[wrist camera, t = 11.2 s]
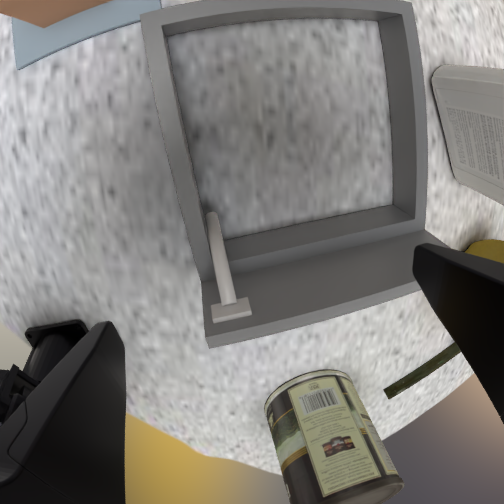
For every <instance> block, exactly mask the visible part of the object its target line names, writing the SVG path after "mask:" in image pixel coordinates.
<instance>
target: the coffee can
mask: <svg viewBox="0 0 504 504" xmlns="http://www.w3.org/2000/svg"><path fill="white" fill-rule="evenodd" d="M265 415H266V417H267V420H268V424H269V427H270V431H271V434H272V438H273V441H274V445H275V449H276V453H277V456H278V460H279V464H280V467H281V471H282V475H283V478H284V482H285V486H286V490H287V493H288V497H289V500H290V504H382V503H383V502H385V501H386V500H388V499H390V498H391V497H393V496H394V495H396V494H397V493H398V492H399V491H400V490H401V489H402V488H403V487H404V482H403V480H402V479H401V478H400V477H399V475H398V473H397V471H396V469H395V467H394V465H393V463H392V461H391V459H390V457H389V455H388V453H387V451H386V449H385V448H384V445H383V443H382V441H381V439H380V437H379V435H378V433H377V431H376V429H375V427H374V425H373V423H372V421H371V419H370V417H369V415H368V413H367V411H366V409H365V407H364V405H363V403H362V402H361V400H360V398H359V396H358V394H357V392H356V390H355V388H354V386H353V383H352V380H351V379H350V377H349V376H348V375H346V374H344V373H342V372H340V371H334V370H322V371H317V372H311V373H308V374H305V375H302V376H299V377H297V378H294V379H293V380H291V381H289V382H287V383H285V384H284V385H282V386H281V387H279V388H278V389H277V390H276V391H275V392H273V394H272V395H271V396H270V397H269V398H268V400H267V402H266V404H265Z"/></svg>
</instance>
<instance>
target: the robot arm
mask: <svg viewBox="0 0 504 504" xmlns="http://www.w3.org/2000/svg"><path fill="white" fill-rule="evenodd" d="M412 272H413V275H414V278H415V279H416V281H417V283H418V284H419V286H420V288H421V289H422V291H423V293H424V294H425V296H426V298H427V300H428V301H429V303H430V305H431V307H432V308H433V310H434V312H435V313H436V315H437V316H438V318H439V319H440V321H441V322H442V324H443V325H444V327H445V328H446V329H447V331H448V332H449V334H450V335H451V337H452V338H453V340H454V341H455V343H456V344H457V346H458V347H459V349H460V350H461V352H462V354H463V355H464V357H465V358H466V360H467V361H468V363H469V365H470V366H471V368H472V369H473V371H474V373H475V374H476V375H477V377H478V379H479V381H480V383H481V384H482V386H483V388H484V389H485V391H486V392H487V394H488V396H489V398H490V400H491V401H492V403H493V405H494V407H495V409H496V410H497V412H498V414H499V416H501V417H500V418H501V420H502V422H503V424H504V263H500V262H497V261H494V260H490V259H487V258H483V257H479V256H476V255H472V254H469V253H465V252H461V251H458V250H454V249H450V248H446V247H442V246H439V245H435V244H431V243H423V244H420V245H417V246H416V247H415V249H414V256H413V266H412ZM77 326H79V327H77ZM25 336H26V338H27V339H28V341H29V342H30V344H31V345H32V347H33V348H32V351H31V353H30V355H29V357H28V360H27V362H26V364H25V367H24V369H23V371H21V370H20V369H19V367H17V366H16V365H14V364H13V366H12V368H11V369H10V371H9V370H0V504H126V503H125V467H124V465H125V464H124V462H125V460H124V459H125V458H124V457H125V450H124V449H125V415H126V374H125V348H124V344H123V341H122V340H121V338H120V336H119V334H118V332H117V330H116V328H115V327H114V325H113V323H112V322H110V321H105V322H100V323H97V324H96V325H95V326H94V327H93V328H92V329H91V330H90V331H89V332H88V330H87V329H86V327H85V325H84V324H83V322H81V321H79V320H75V321H70V322H64V323H59V324H53V325H48V326H42V327H36V328H31V329H27V331H26V332H25Z"/></svg>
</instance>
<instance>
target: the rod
mask: <svg viewBox="0 0 504 504" xmlns="http://www.w3.org/2000/svg"><path fill="white" fill-rule="evenodd" d="M460 352H461V350H460V349H459V347H458V346H457V344H456V343H455V342H454V343H453V344H452V345H450V346H449V347H448V348H446V349H445V350H443V351H442V352H441V353H439V354H438V355H436V356H435V357H434V358H432V359H431V360H429V361H428V362H426V363H425V364H423V365H422V366H420V367H419V368H417V369H416V370H414V371H413V372H411V373H410V374H408V375H407V376H405V377H403V378H402V379H400V380H399V381H397V382H395V383H394V384H392V385H391V386H389V387H387V388H385V389H384V392H385V394H386V395H387V397H388V399H391V398H392V397H394V396H396V395H398V394H399V393H401V392H403V391H404V390H406V389H407V388H409V387H411V386H412V385H414V384H415V383H417V382H418V381H420V380H421V379H423V378H425V377H426V376H428V375H429V374H431V373H432V372H434V371H435V370H436V369H438V368H439V367H441V366H442V365H444V364H445V363H446V362H448V361H449V360H450V359H452V358H453V357H455V356H456V355H457V354H459V353H460Z"/></svg>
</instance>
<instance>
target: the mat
mask: <svg viewBox="0 0 504 504" xmlns="http://www.w3.org/2000/svg"><path fill="white" fill-rule="evenodd" d="M158 9H161V3H160V0H112V1H109V2H107V3H104V4H101V5H98V6H95V7H93V8H90V9H87V10H85V11H82V12H80V13H77V14H75V15H72V16H70V17H68V18H65V19H63V20H61V21H59V22H56V23H54V24H52V25H50V26H48V27H46V28H42V27H39V26H36V25H33V24H31V23H28V22H25V21H22V20H19V19H17V18H14V17H12V30H13V42H14V52H15V60H16V68H17V70H20V69H22V68H24V67H26V66H28V65H30V64H32V63H34V62H36V61H38V60H40V59H42V58H44V57H46V56H48V55H50V54H52V53H54V52H57V51H59V50H61V49H63V48H66V47H68V46H70V45H73V44H75V43H78V42H80V41H83V40H85V39H88V38H91V37H93V36H96V35H99V34H102V33H104V32H107V31H110V30H113V29H116V28H119V27H123V26H126V25H129V24H132V23H136V22H139V21H140V15H139V14H143V13H147V12H150V11H154V10H158Z"/></svg>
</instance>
